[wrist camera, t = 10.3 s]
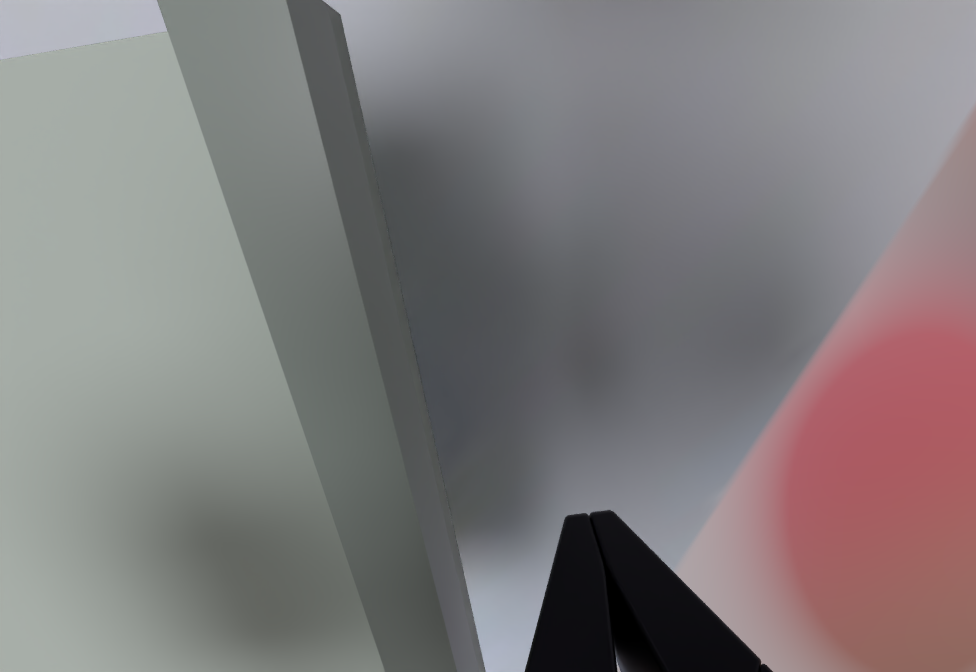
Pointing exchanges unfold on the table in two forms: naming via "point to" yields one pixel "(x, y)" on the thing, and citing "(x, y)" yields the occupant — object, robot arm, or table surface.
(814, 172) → the table surface
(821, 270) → the table surface
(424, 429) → the lid
